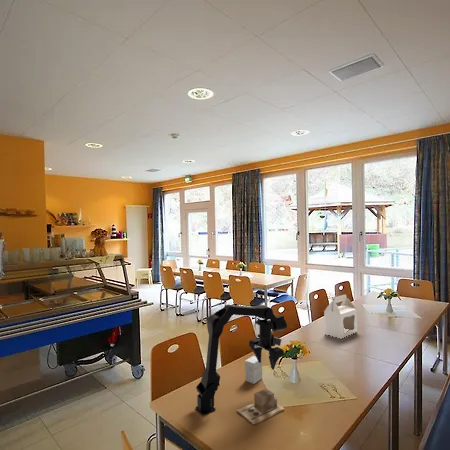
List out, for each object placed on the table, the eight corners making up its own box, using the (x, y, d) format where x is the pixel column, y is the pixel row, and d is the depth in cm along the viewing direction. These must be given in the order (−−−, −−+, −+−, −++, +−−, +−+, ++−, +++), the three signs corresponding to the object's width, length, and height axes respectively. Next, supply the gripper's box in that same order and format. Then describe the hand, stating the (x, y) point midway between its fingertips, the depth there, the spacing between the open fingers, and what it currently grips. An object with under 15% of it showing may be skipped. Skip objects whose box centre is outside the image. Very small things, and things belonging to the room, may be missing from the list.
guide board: (253, 424, 123) (253, 415, 123) (237, 411, 132) (236, 402, 132) (284, 410, 132) (284, 401, 133) (266, 398, 142) (266, 390, 142)
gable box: (340, 328, 240) (339, 292, 241) (357, 332, 230) (356, 294, 231) (324, 334, 226) (323, 296, 227) (341, 339, 216) (340, 299, 217)
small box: (253, 375, 165) (253, 355, 165) (262, 378, 161) (262, 358, 161) (244, 381, 159) (244, 360, 159) (254, 384, 155) (253, 363, 155)
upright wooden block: (262, 412, 129) (261, 398, 129) (254, 407, 133) (254, 393, 134) (274, 407, 133) (274, 393, 133) (266, 402, 137) (266, 388, 138)
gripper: (292, 334, 143) (292, 368, 143) (265, 324, 159) (265, 355, 158) (274, 339, 137) (275, 375, 137) (248, 329, 152) (248, 360, 152)
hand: (266, 365), depth 146 cm, fingers open, 9 cm apart
